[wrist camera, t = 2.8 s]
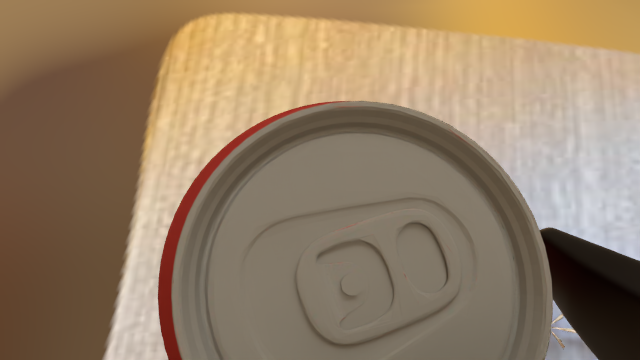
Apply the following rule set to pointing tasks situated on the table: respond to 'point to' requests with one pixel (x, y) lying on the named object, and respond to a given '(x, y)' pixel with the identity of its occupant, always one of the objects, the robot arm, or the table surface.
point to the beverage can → (354, 246)
